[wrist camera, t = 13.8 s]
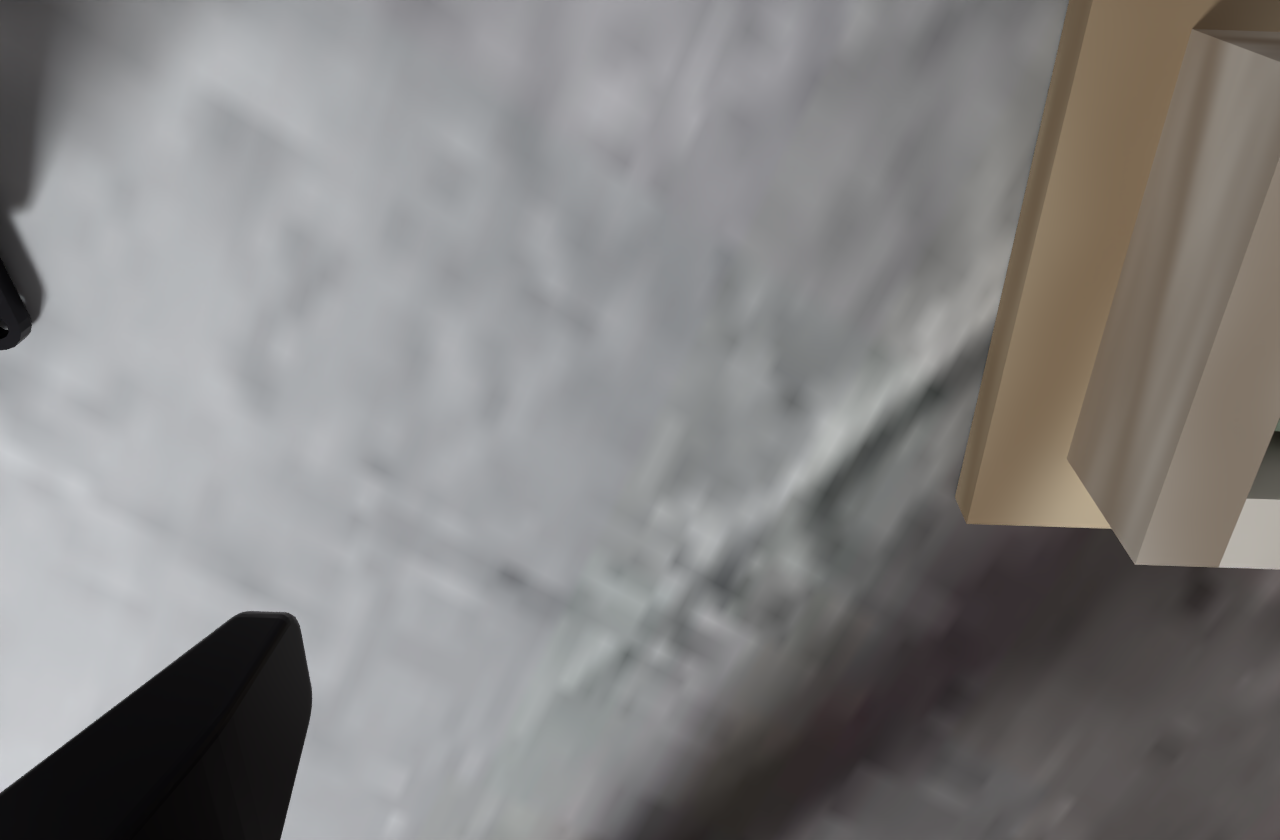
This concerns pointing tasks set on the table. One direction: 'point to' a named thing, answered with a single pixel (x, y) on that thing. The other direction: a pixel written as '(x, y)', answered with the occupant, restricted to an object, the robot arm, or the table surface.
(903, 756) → the table surface
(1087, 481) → the block holder
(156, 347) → the table surface
